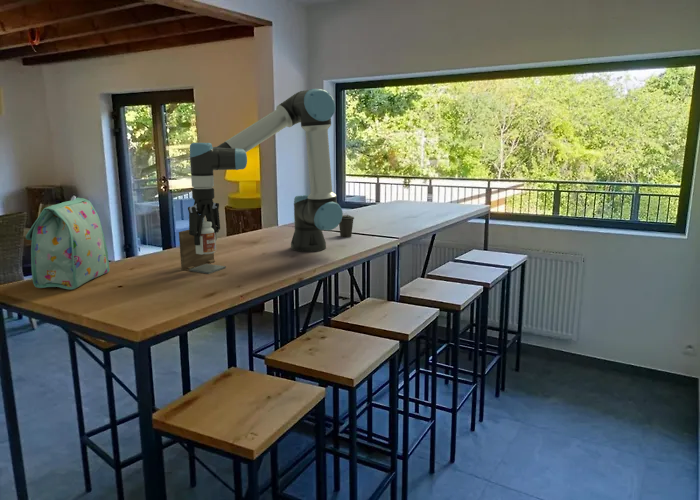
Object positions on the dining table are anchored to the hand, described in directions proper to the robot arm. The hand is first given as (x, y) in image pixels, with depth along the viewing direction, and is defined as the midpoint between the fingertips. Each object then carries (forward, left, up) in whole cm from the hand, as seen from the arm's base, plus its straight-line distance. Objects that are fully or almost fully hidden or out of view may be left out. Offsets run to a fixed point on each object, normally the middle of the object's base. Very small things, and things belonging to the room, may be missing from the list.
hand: (206, 251), depth 182 cm
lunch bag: (+30, +31, -7) cm, 44 cm away
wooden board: (+7, -3, -7) cm, 10 cm away
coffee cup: (-18, -78, -7) cm, 80 cm away
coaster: (0, 0, -7) cm, 7 cm away
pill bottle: (0, 0, -1) cm, 1 cm away
